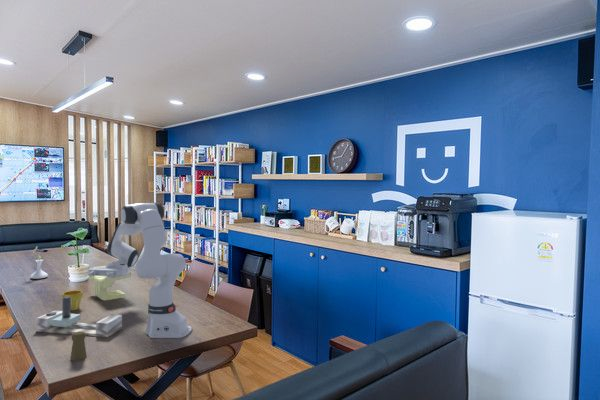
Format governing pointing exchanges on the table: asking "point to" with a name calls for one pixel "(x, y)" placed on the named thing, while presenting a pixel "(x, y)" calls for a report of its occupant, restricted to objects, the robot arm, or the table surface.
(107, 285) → the slatted curved stool
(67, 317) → the carriage
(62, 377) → the table surface
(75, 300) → the plant pot
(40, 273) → the flower in vase
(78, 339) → the olive brown pepper mill
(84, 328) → the rail track
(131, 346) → the table surface
